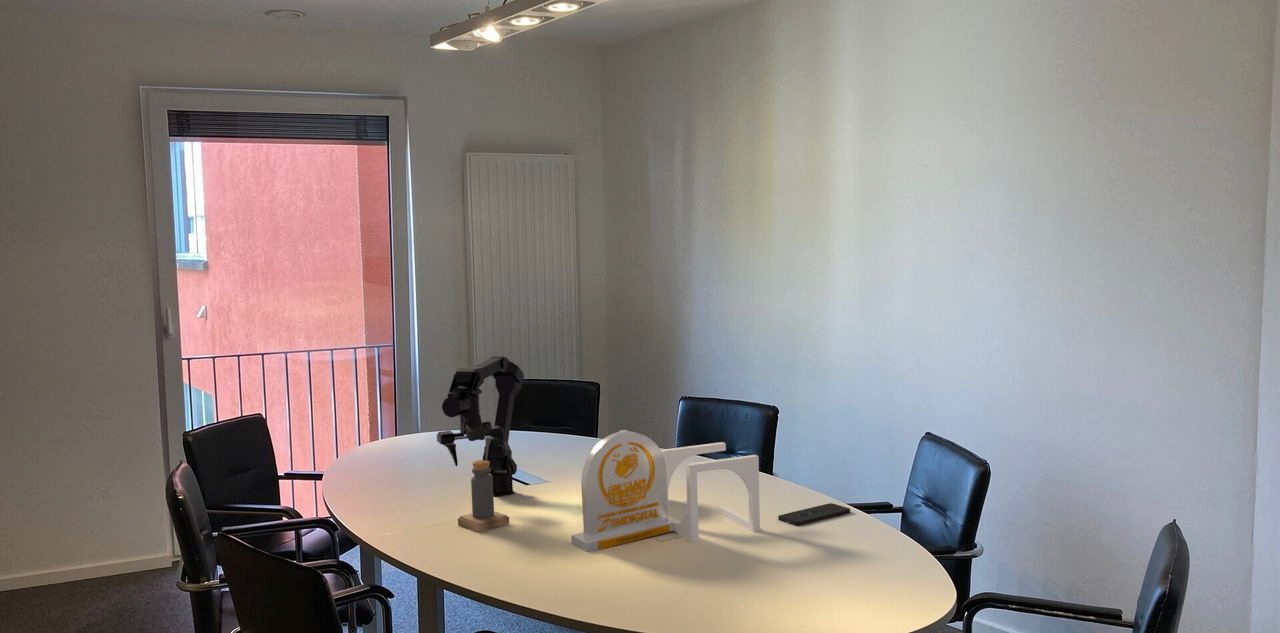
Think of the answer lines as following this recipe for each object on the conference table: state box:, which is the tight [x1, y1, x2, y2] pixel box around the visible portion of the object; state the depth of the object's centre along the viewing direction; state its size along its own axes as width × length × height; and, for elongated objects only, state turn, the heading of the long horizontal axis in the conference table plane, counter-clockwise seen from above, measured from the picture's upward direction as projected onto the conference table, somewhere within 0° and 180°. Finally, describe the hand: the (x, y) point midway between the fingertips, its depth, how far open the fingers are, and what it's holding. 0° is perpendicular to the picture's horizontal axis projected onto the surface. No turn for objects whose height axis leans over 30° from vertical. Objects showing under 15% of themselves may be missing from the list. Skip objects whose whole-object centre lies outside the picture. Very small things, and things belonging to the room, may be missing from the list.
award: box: [570, 430, 681, 552], centre depth 258 cm, size 28×9×28 cm, turn 122°
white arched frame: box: [660, 441, 761, 543], centre depth 266 cm, size 20×20×20 cm
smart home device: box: [777, 502, 851, 527], centre depth 273 cm, size 8×2×20 cm
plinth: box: [457, 510, 510, 533], centre depth 274 cm, size 10×10×2 cm
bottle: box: [470, 459, 495, 519], centre depth 274 cm, size 6×6×15 cm
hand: (471, 464), depth 290 cm, fingers open, 9 cm apart
